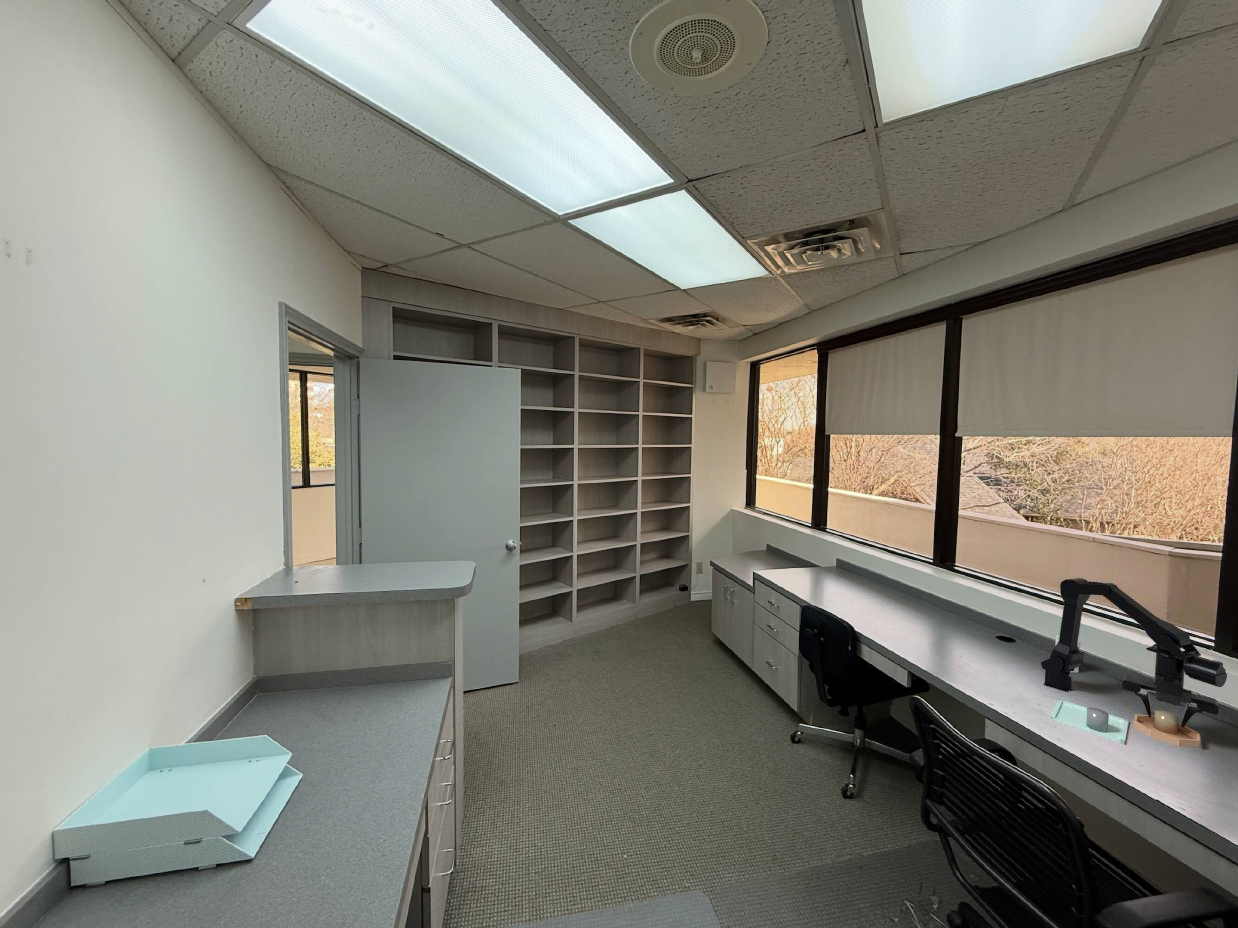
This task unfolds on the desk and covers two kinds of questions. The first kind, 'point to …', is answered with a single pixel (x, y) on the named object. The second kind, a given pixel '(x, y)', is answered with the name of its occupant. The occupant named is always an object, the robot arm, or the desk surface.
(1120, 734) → the parts tray
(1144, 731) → the dish
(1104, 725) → the grey rounded lump
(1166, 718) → the river pebble
